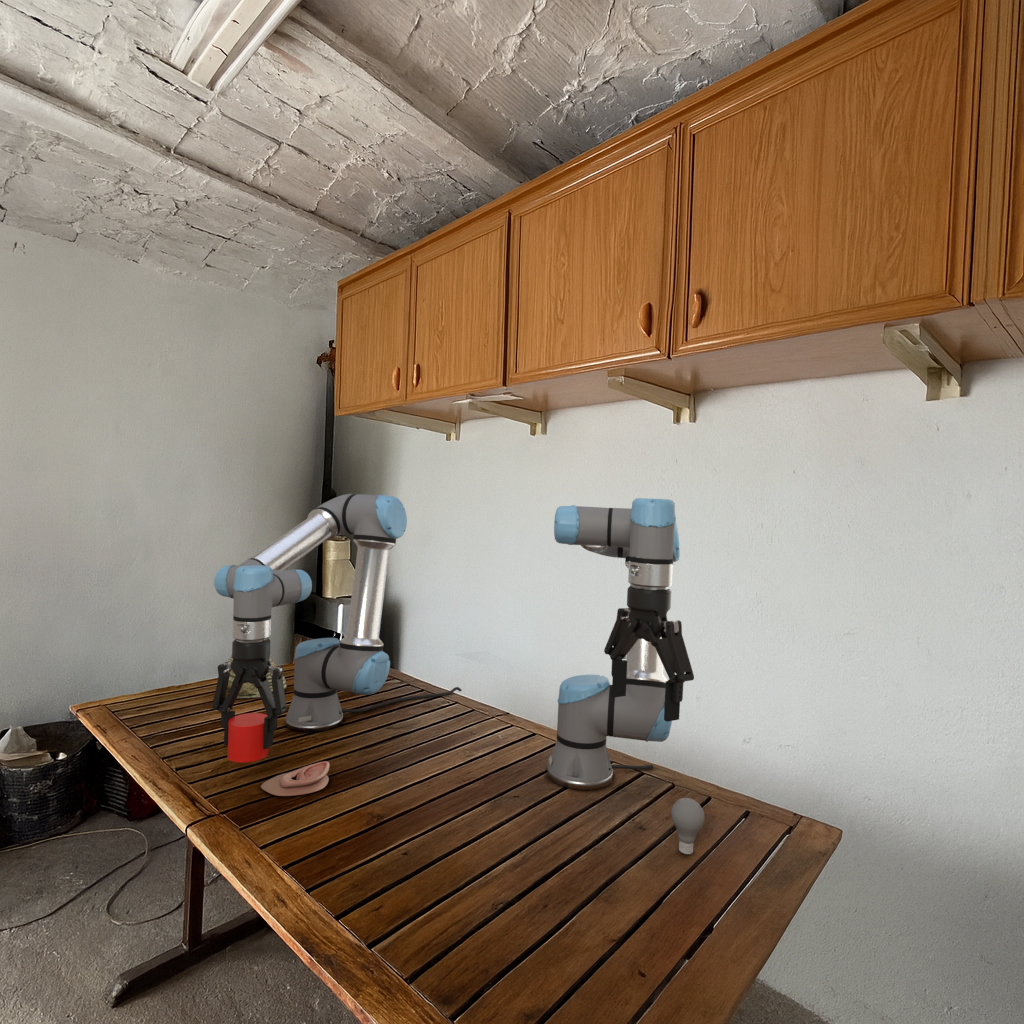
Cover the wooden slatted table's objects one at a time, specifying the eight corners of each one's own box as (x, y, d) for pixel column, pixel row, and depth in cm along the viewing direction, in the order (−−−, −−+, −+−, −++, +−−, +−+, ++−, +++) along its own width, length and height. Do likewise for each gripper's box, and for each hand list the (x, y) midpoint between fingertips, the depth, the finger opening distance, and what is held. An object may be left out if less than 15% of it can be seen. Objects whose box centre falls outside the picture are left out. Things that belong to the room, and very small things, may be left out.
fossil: (218, 695, 195) (220, 647, 195) (278, 685, 208) (279, 640, 207) (228, 703, 189) (230, 653, 188) (289, 692, 201) (290, 645, 201)
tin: (223, 751, 136) (224, 717, 136) (262, 744, 141) (263, 710, 141) (232, 765, 129) (233, 729, 129) (273, 757, 134) (274, 722, 134)
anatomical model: (253, 773, 134) (283, 753, 145) (252, 792, 134) (282, 770, 145) (310, 782, 131) (336, 760, 142) (309, 801, 131) (335, 777, 143)
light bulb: (664, 843, 121) (667, 792, 121) (695, 843, 121) (698, 792, 121) (675, 861, 115) (678, 807, 115) (707, 861, 115) (710, 807, 115)
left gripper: (194, 639, 132) (191, 747, 133) (290, 646, 130) (287, 756, 130) (215, 631, 139) (212, 734, 140) (306, 638, 137) (303, 742, 138)
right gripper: (589, 578, 119) (583, 689, 120) (686, 598, 98) (679, 734, 98) (620, 577, 123) (615, 685, 124) (720, 596, 102) (713, 728, 102)
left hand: (248, 744), depth 135 cm, fingers closed on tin, 8 cm apart
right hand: (643, 707), depth 111 cm, fingers open, 13 cm apart
